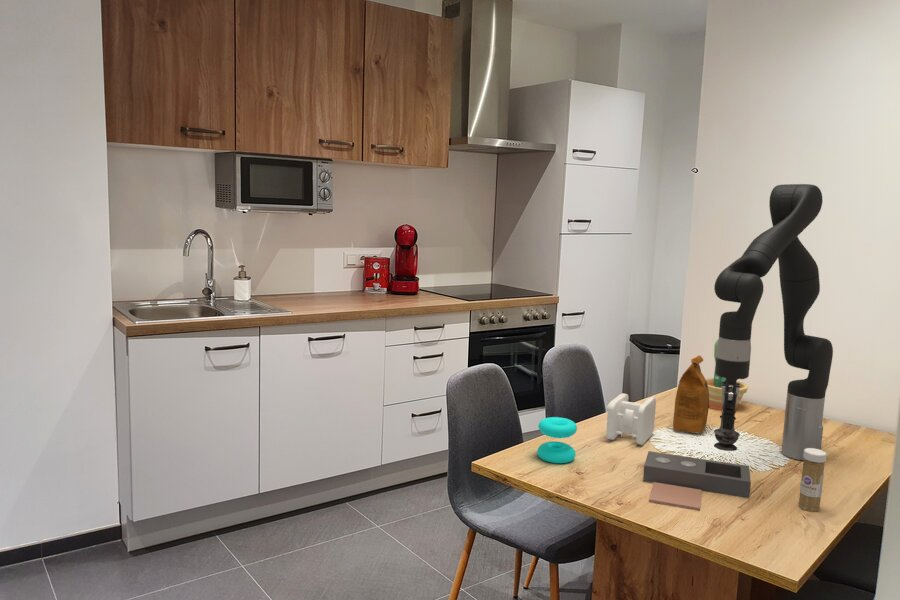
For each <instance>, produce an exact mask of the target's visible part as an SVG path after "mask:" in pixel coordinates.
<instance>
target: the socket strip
mask: <svg viewBox="0 0 900 600" xmlns="http://www.w3.org/2000/svg"><path fill="white" fill-rule="evenodd" d="M750 473H751V471H750V466H749V465H744V464H739V463H730V462H725V461H719V460H718V461H717V460H710V459H704V458H697V457H691V456H684V455H679V454H670V453H664V452H658V451H657V452H656V451H650V450H649V451H648V452H647V455H646V458H645V461H644V464H643V477H642V482H645V481H647V482H646V483H651V482H652V484H653V482H656V483H663V484H669V485H675V486H681V487H687V488H693V489H700V490H701V492H708V493H714V494H720V495H721V494H722V495H725V496H733V497H739V498H745V499H750V492H751V481H752V480H751V474H750Z"/></svg>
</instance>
